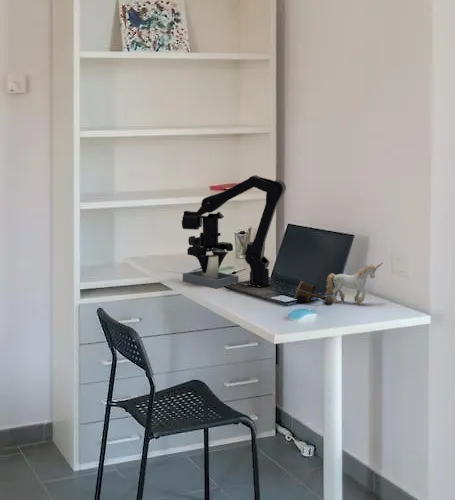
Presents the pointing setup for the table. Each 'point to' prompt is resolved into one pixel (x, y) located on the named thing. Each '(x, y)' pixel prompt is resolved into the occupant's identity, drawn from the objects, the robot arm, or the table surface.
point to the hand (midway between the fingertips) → (210, 271)
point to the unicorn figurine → (350, 283)
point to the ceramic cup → (211, 267)
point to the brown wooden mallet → (309, 293)
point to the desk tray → (213, 283)
